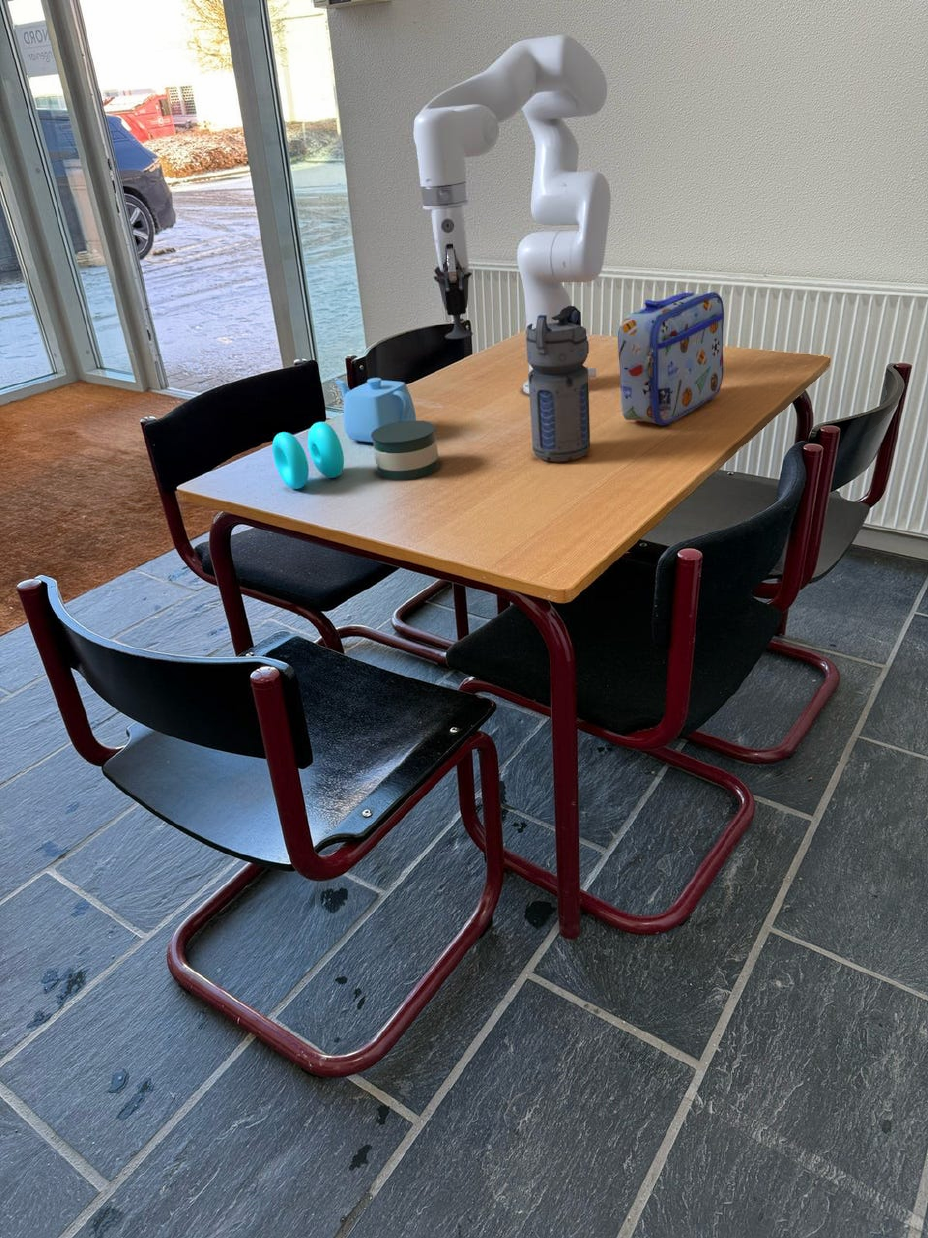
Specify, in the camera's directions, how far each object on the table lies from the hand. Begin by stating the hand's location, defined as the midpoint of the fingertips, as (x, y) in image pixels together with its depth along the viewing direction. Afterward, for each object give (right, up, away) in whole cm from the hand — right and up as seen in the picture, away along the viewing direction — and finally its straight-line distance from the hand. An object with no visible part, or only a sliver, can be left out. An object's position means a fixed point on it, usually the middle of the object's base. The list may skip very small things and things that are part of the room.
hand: (456, 309), depth 158 cm
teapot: (-16, -18, +23) cm, 33 cm away
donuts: (-26, -30, +4) cm, 39 cm away
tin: (-9, -27, +5) cm, 29 cm away
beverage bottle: (+19, -24, +4) cm, 31 cm away
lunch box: (+42, -14, +18) cm, 47 cm away
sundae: (0, -4, +2) cm, 5 cm away
